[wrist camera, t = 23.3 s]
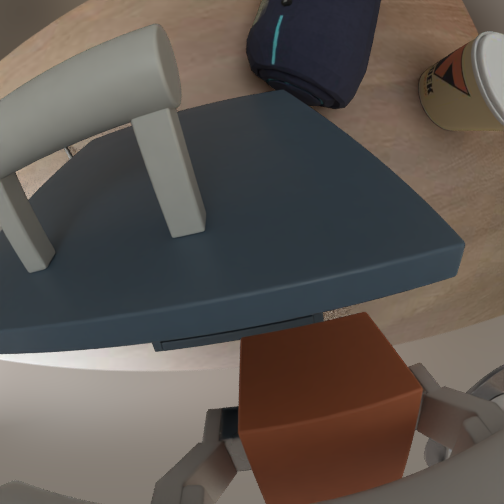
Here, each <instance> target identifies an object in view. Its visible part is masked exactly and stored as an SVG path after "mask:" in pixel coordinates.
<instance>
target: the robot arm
mask: <svg viewBox="0 0 504 504" xmlns="http://www.w3.org/2000/svg"><path fill="white" fill-rule="evenodd" d="M408 368H409V370H410V371H411V372H412V374H413V375H414V376H415V378H416V379H417V381H418V382H419V383H420V385H421V386H422V388H423V392H422V398H421V403H420V408H419V413H418V418H417V423H416V427H415V430H417V431H418V432H420V433H422V434H424V435H425V436H427V437H429V438H431V439H432V440H434V441H436V442H438V443H440V444H441V445H443V446H445V447H446V458H445V460H444V461H442V462H440V463H437V464H435V465H433V466H431V467H428V468H426V469H424V470H421V471H419V472H416V473H414V474H411V475H409V476H406V477H404V478H401V479H398V480H395V481H393V482H390V483H387V484H384V485H381V486H378V487H374V488H371V489H368V490H365V491H361V492H358V493H354V494H350V495H346V496H342V497H338V498H334V499H330V500H325V501H321V502H316V503H310V504H504V394H502V395H500V396H497V397H495V398H494V399H492V400H491V401H489V400H486V399H483V398H479V397H476V396H473V395H470V394H466V393H463V392H460V391H457V390H454V389H451V388H448V387H442V388H441V387H440V386H439V384H438V383H437V382H436V381H435V379H434V378H433V377H432V376H431V374H430V373H429V372H428V371H427V370H426V368H425V367H424V366H423V365H422V364H421V363H417V364H415V365H412V366H409V367H408ZM238 409H239V406H237V407H228V408H219V409H208V411H207V414H206V421H205V427H204V434H203V441H202V443H198V444H197V445H196V446H195V447H193V448H192V449H191V450H190V451H189V453H187V454H186V455H185V456H184V457H183V458H182V459H181V460H180V461H179V462H178V463H177V464H176V465H175V466H174V467H173V468H172V469H171V470H170V471H168V472H167V473H166V474H165V475H164V476H163V477H162V478H161V479H160V480H159V481H157V482H156V484H155V488H154V493H153V497H152V501H151V504H215V503H216V502H217V500H218V499H219V498H220V496H221V495H222V493H223V492H224V491H225V489H226V488H227V486H228V485H229V483H230V482H231V481H232V479H233V478H234V476H235V475H236V474H237V471H246V470H252V468H251V466H250V463H249V461H248V458H247V456H246V453H245V450H244V448H243V445H242V442H241V440H240V437H239V434H238ZM0 504H99V503H94V502H90V501H85V500H81V499H77V498H73V497H69V496H65V495H61V494H57V493H54V492H50V491H48V490H44V489H41V488H38V487H35V486H32V485H30V484H27V483H24V482H21V481H11V482H8V483H6V484H4V485H2V486H0Z"/></svg>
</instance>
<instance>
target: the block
mask: <svg viewBox="0 0 504 504" xmlns="http://www.w3.org/2000/svg"><path fill="white" fill-rule="evenodd" d="M422 392H423V388H422V386H421V385H420V383H419V382H418V381H417V379H416V378H415V376H414V375H413V374H412V372H411V371H410V370H409V368H408V367H407V365H406V364H405V363H404V361H403V360H402V359H401V357H400V356H399V355H398V353H397V352H396V351H395V349H394V348H393V347H392V345H391V344H390V343H389V341H388V340H387V339H386V337H385V336H384V335H383V333H382V332H381V331H380V329H379V328H378V327H377V326H376V324H375V323H374V322H373V320H372V319H371V318H370V316H369V315H368V314H367V313H366V312H362V313H357V314H353V315H349V316H345V317H341V318H336V319H332V320H328V321H323V322H319V323H314V324H309V325H305V326H300V327H295V328H290V329H285V330H280V331H274V332H269V333H264V334H258V335H252V336H247V337H242V338H241V342H240V374H239V409H238V434H239V437H240V440H241V442H242V445H243V448H244V450H245V453H246V456H247V458H248V461H249V463H250V466H251V468H252V471H253V473H254V476H255V478H256V481H257V483H258V486H259V488H260V490H261V493H262V495H263V498H264V500H265V503H266V504H310V503H316V502H321V501H325V500H330V499H334V498H338V497H342V496H346V495H350V494H354V493H358V492H361V491H365V490H368V489H371V488H374V487H378V486H381V485H384V484H387V483H390V482H393V481H395V480H398V479H401V478H402V476H403V473H404V469H405V465H406V462H407V459H408V455H409V451H410V448H411V444H412V440H413V436H414V431H415V427H416V423H417V418H418V413H419V408H420V403H421V398H422Z"/></svg>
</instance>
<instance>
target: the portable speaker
mask: <svg viewBox="0 0 504 504" xmlns="http://www.w3.org/2000/svg"><path fill="white" fill-rule="evenodd" d="M380 2H381V0H262V2H261V5H260V7H259V10H258V13H257V15H256V18H255V21H254V23H253V26H252V28H251V29H250V32H249V35H248V38H247V45H246V53H247V56H248V60H249V64H250V67H251V70H252V71H253V72H254V73H255V75H256V76H258V77H259V78H261V79H262V80H264V81H265V82H266V83H267V84H268V85H269V86H271V87H272V88H273V89H275V90H276V91H277V90H285V91H286V92H288V93H290V94H291V95H293V96H294V97H296V98H297V99H299V100H300V101H302V102H303V103H305V104H306V105H310V106H323V107H328V108H332V109H338V108H344V107H346V106H347V104H348V103H349V102H350V101H351V100H352V98H353V97H354V96H355V93H356V91H357V89H358V87H359V85H360V83H361V81H362V79H363V77H364V74H365V72H366V70H367V65H368V61H369V56H370V52H371V47H372V43H373V38H374V33H375V28H376V23H377V18H378V13H379V8H380Z"/></svg>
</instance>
